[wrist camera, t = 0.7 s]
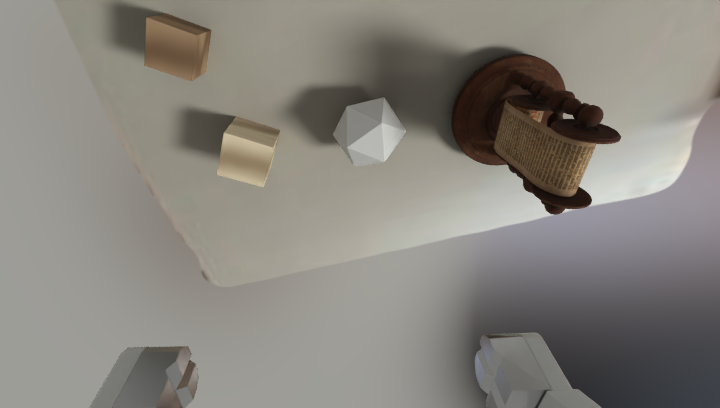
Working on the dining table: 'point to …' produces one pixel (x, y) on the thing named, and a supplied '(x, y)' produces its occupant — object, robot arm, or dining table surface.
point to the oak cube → (247, 151)
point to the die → (369, 132)
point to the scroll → (530, 128)
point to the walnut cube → (176, 46)
